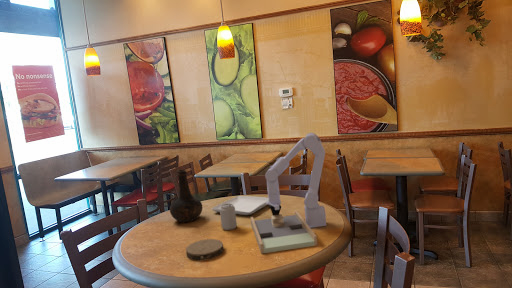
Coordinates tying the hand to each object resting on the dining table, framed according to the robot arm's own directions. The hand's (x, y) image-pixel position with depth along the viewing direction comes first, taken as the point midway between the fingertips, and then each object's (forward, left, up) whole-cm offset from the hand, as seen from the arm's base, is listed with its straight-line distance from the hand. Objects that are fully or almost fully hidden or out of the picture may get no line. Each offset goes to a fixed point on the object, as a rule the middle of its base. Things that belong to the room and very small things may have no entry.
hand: (276, 219), depth 189 cm
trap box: (0, +12, -3) cm, 12 cm away
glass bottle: (+45, -29, -3) cm, 54 cm away
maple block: (0, +4, -1) cm, 4 cm away
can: (+23, -6, -3) cm, 24 cm away
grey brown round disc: (+35, +20, -3) cm, 40 cm away
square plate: (+13, -36, -4) cm, 39 cm away
